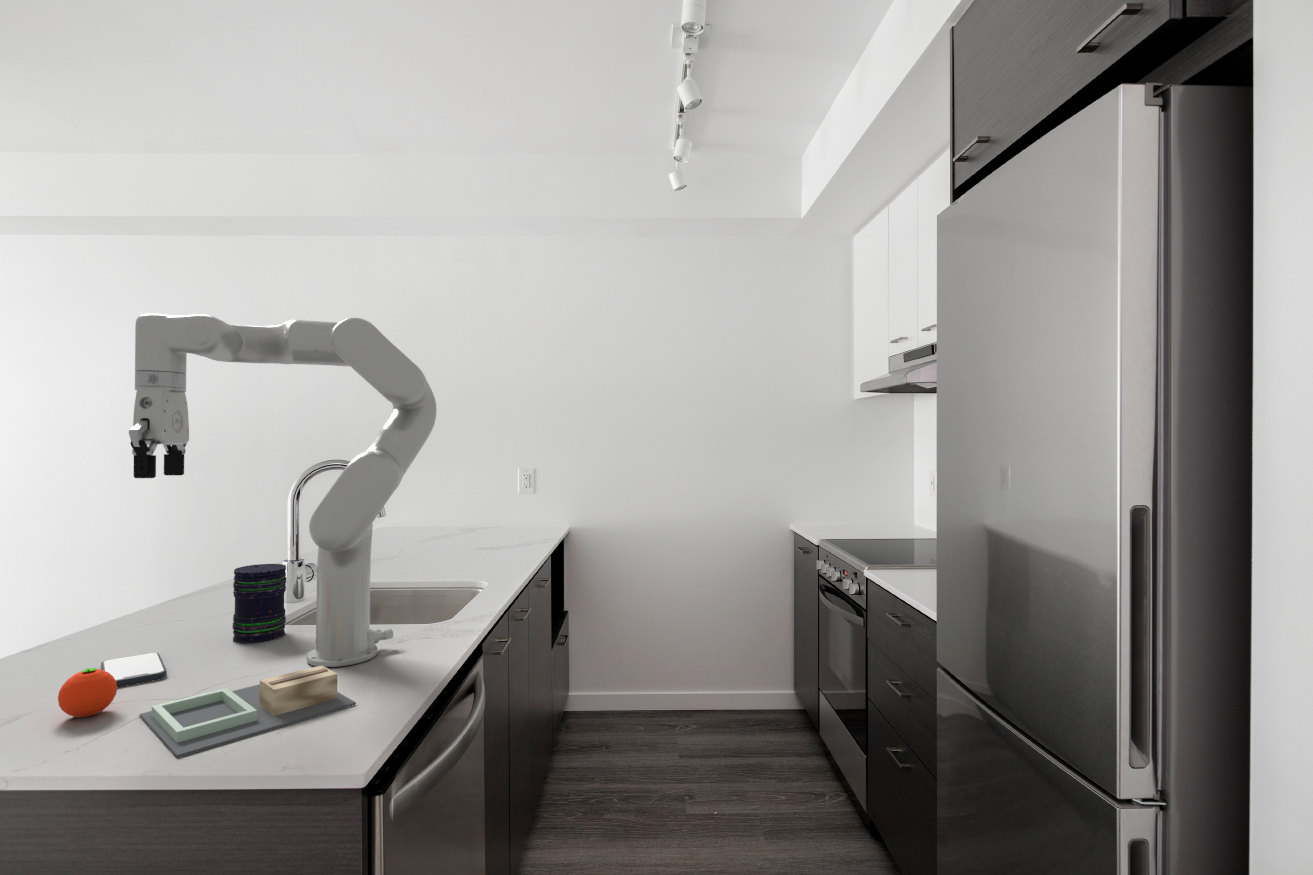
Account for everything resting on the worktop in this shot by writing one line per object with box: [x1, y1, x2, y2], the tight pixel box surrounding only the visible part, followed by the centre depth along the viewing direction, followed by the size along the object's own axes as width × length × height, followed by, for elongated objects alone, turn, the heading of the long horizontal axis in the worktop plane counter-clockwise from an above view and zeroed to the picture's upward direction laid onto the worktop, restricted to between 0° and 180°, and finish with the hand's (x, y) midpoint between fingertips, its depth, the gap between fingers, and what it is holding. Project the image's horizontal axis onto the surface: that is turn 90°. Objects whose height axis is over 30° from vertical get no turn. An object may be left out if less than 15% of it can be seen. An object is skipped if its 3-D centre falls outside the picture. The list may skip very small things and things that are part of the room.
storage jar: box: [232, 563, 287, 645], centre depth 142 cm, size 10×10×15 cm
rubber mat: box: [139, 683, 357, 759], centre depth 103 cm, size 24×20×1 cm
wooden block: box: [259, 665, 338, 716], centre depth 106 cm, size 10×6×4 cm, turn 139°
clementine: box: [57, 667, 118, 718], centre depth 101 cm, size 8×7×7 cm
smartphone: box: [100, 652, 167, 688], centre depth 120 cm, size 9×2×16 cm
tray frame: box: [151, 687, 257, 743], centre depth 99 cm, size 10×14×2 cm
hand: (159, 476), depth 120 cm, fingers open, 9 cm apart
